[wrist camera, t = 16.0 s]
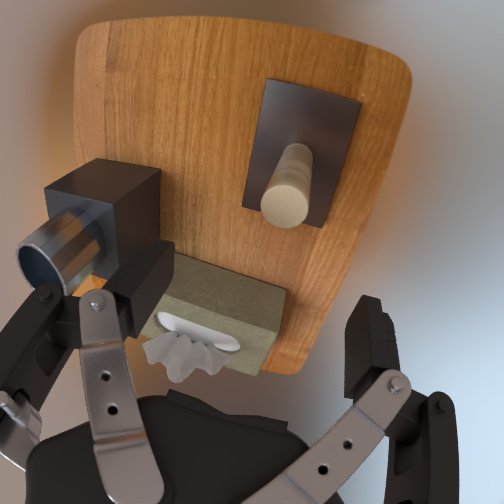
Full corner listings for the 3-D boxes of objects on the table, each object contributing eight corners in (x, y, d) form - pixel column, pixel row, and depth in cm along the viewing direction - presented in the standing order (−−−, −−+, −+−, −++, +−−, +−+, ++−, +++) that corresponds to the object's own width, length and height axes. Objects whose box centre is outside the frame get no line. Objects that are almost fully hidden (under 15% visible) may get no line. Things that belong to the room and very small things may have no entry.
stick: (297, 136, 27) (283, 175, 18) (319, 158, 28) (318, 209, 18) (276, 157, 29) (250, 207, 19) (298, 177, 30) (285, 237, 20)
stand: (96, 158, 35) (43, 188, 26) (161, 168, 34) (113, 204, 26) (100, 223, 40) (58, 261, 32) (159, 239, 40) (121, 285, 31)
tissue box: (289, 289, 40) (269, 394, 27) (268, 335, 45) (246, 427, 32) (156, 244, 40) (91, 325, 27) (153, 294, 46) (104, 372, 33)
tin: (66, 193, 26) (18, 227, 20) (115, 238, 28) (73, 281, 22) (52, 236, 30) (13, 270, 24) (95, 275, 32) (60, 315, 26)
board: (269, 77, 26) (266, 78, 25) (359, 101, 25) (361, 102, 24) (244, 201, 34) (241, 207, 33) (322, 222, 33) (322, 228, 32)
